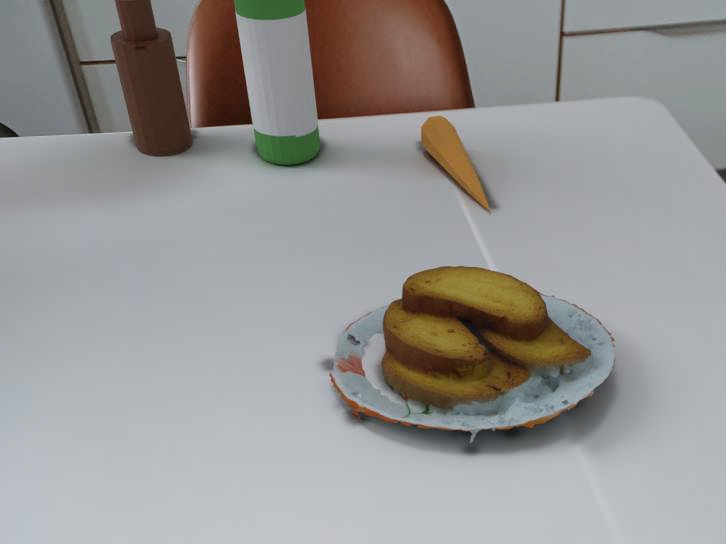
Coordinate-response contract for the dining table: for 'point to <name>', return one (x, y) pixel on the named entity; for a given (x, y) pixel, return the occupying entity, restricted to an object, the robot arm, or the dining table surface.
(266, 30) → the wine bottle
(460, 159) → the carrot
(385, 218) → the dining table surface
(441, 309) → the food on plate
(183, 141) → the bottle
